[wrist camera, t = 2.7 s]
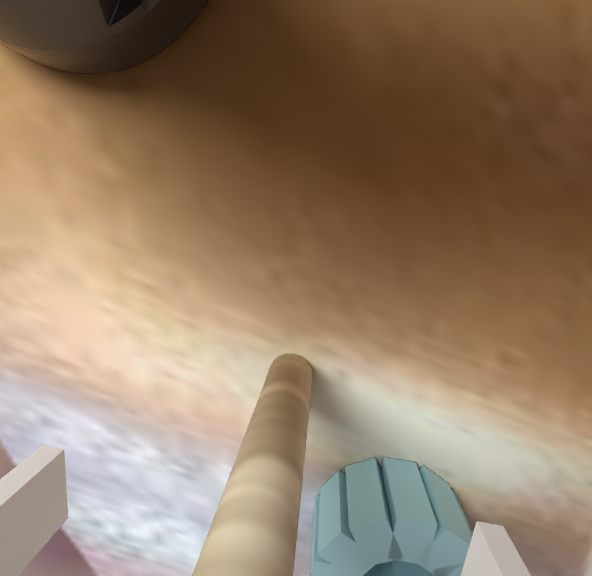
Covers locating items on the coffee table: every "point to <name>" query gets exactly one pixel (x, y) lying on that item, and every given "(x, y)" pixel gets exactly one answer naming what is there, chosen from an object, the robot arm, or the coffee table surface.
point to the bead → (388, 523)
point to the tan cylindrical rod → (264, 482)
